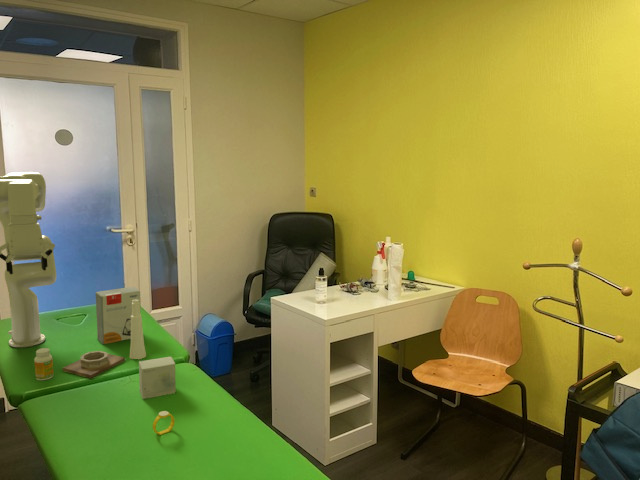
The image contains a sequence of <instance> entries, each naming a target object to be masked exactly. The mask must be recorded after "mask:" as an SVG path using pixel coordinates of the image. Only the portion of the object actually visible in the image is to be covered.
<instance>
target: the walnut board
mask: <svg viewBox="0 0 640 480" xmlns="http://www.w3.org/2000/svg"><path fill="white" fill-rule="evenodd" d="M125 361H126V357H123V356H119V355H115V354H112V353H108V352H106V351H102V350H95V351H88V352H86V353H84V354H81V355H80V359H79V360H77V361H74V362H72V363H70V364H68V365H65V366H63V367H62V372H64V373H65V372H66V373H69V374H73V375H77V376H80V377H84V378H88V379H93V378H95V377H97V376H98V375H100V374H102V373H104V372H106V371H108V370H110V369H112V368H115V367H116V366H118V365H119V364H122V363H124V362H125Z"/></svg>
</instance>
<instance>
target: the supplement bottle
mask: <svg viewBox="0 0 640 480" xmlns="http://www.w3.org/2000/svg"><path fill="white" fill-rule="evenodd" d="M50 352H51V351H50V348H48V347H44V348H42V347H41V348H39V349H37V350H36V351H35V355H36V356H35V357H34V360H33V361H34V372H35V373H34V374H35V379H36V380H37V381H46V380H50V379H52V378H53V377H54V362H53V360H54V359H53V356H52V354H51V353H50Z"/></svg>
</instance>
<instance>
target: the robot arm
mask: <svg viewBox="0 0 640 480" xmlns="http://www.w3.org/2000/svg"><path fill="white" fill-rule="evenodd" d="M46 188H47V186H46V179H45V177H44V176H43V174H41V173H39V172H36V171H35V172H33V171H29V172H27V171H26V172H23V171H22V172H21V171H20V172H9V173H7V174H5V175H3V176H0V223H1V225H2V227H3V228H2V229H3V232H4V242H5V243H3V244H2V245H0V259H1V260H3V261H4V262H6V263H5V266H6V269H4V280H5V284H6V286H7V291H8V292H7V293H8V298H9V308H10V320H11V328H10V329H11V330H9V331H7V334H8V335H9V336H10V335H11V338H10V339H9V340H8V345H9V346H10V347H13V348H29V347H34V346H37V345H39V344H41V343H44V341H45V340H46V336H45V334H42V333H41V324H40V312H39V310H40V308H39V299H38V296H37V294H36V293H35V292H34V291H33V290H31V288H35V287H37V288H38V287H45V286H51V285H53V284H54V283H56V280H57V268H56V261H55V254H54V249H55V247H56V244H55V243H53V242H52V240H51V238H50V237H49V236H48V235H43V234H42V229H41V225H40V222H38V221H39V220H41V221H42V215H38V214H37V212H42V211H43V210H44V209H45V206H46V195H47V194H46V192H47V189H46ZM5 249H6V250H5ZM4 250H5V252H6V255H5V254H3V252H2V251H4ZM36 260H40V261H36ZM12 261H13V262H21V263H15V264H13V262H12ZM24 261H29V262H24ZM30 261H31V262H30ZM32 261H34V262H32Z"/></svg>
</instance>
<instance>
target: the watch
mask: <svg viewBox="0 0 640 480" xmlns="http://www.w3.org/2000/svg"><path fill="white" fill-rule="evenodd" d="M157 414H158V415H157V416H156V417H155V418H154V421H153V423H152V429H153V432H154V433H155V434H157V435H160V436H161V435H165V434H167V433H170V432H171V431H172V430H173V428H174V427H175V426H174V425H175V422H176V421H175V417H174V416H173V415H172V414H171V413H170V412H169V411H167V410H162V411H159V412H158V413H157ZM168 417H170V419H171V421H170V424H169V426H168V427H167V428H166V429H163V430H161V431H157V429H156V428H157V424H158V422H159V421H160V419H166V418H168Z"/></svg>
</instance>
